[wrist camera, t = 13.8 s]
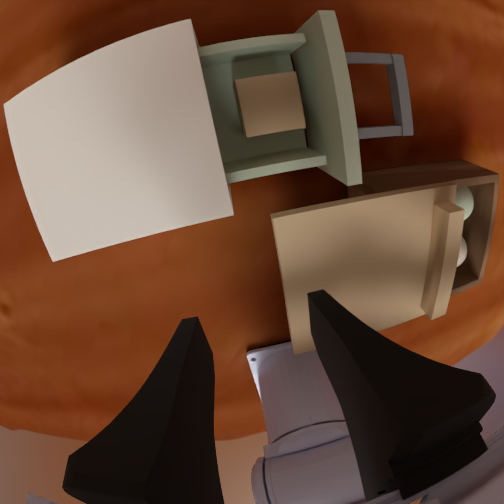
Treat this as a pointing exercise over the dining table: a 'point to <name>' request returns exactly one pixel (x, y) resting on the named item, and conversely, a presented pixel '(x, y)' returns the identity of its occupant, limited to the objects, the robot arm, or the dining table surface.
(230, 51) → the drawer
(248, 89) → the small oak cube
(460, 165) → the walnut box
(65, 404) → the dining table surface
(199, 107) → the white cabinet
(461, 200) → the pale green ball
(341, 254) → the box lid
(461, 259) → the ivory ball
